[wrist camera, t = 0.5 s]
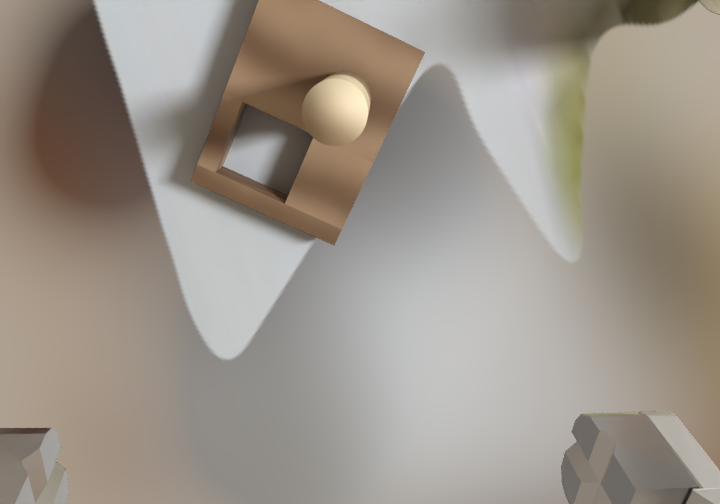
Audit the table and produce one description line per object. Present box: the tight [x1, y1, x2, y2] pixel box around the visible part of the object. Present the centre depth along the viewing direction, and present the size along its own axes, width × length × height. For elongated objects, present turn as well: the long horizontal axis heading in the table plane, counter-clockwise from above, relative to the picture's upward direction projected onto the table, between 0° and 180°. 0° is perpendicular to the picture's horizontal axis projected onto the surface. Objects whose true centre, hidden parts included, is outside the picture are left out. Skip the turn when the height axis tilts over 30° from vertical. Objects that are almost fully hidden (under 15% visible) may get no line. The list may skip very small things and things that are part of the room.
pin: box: [302, 71, 371, 146], centre depth 43 cm, size 4×4×10 cm
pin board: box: [191, 0, 425, 245], centre depth 49 cm, size 16×12×2 cm
